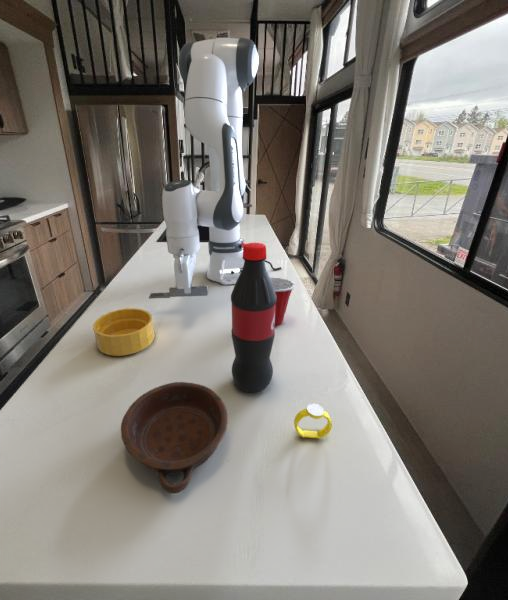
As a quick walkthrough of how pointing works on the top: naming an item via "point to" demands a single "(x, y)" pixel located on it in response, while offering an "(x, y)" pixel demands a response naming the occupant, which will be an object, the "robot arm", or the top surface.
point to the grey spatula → (181, 292)
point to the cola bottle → (253, 321)
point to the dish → (174, 429)
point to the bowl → (124, 331)
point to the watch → (316, 413)
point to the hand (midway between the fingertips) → (188, 290)
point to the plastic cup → (281, 297)
